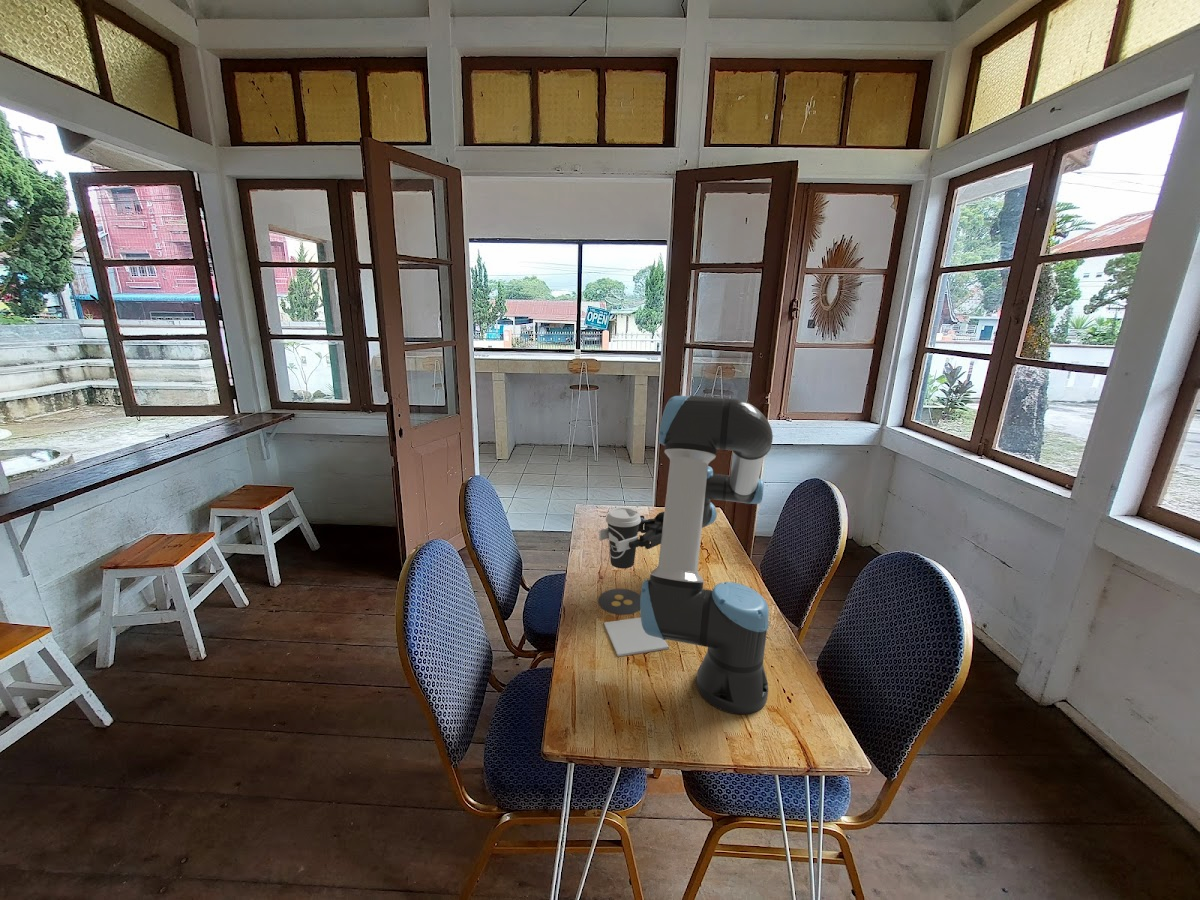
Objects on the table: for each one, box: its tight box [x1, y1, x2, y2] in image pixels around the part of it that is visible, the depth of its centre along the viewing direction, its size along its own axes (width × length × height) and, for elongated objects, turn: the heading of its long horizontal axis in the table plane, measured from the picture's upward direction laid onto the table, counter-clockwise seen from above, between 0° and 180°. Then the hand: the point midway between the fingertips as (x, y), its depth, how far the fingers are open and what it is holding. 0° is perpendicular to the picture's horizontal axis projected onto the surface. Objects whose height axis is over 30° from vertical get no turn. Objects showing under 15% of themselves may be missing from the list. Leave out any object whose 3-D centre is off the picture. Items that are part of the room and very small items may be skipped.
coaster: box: [597, 588, 641, 616], centre depth 141 cm, size 13×13×1 cm
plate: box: [603, 617, 670, 658], centre depth 126 cm, size 13×13×1 cm
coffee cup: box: [605, 506, 641, 570], centre depth 136 cm, size 10×10×15 cm
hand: (608, 541), depth 133 cm, fingers closed on coffee cup, 8 cm apart
